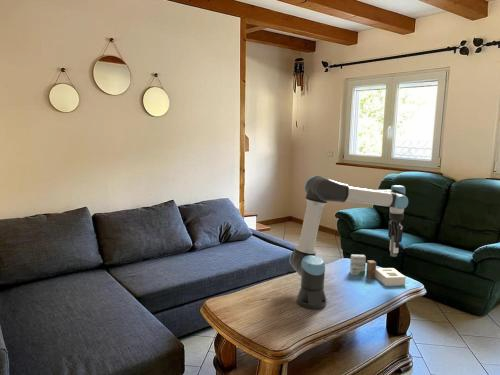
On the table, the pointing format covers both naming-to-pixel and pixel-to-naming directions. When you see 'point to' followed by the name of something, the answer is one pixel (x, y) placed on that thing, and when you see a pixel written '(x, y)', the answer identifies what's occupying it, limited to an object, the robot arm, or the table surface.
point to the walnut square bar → (371, 269)
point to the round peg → (392, 247)
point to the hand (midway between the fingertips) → (393, 251)
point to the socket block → (390, 276)
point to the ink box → (357, 264)
